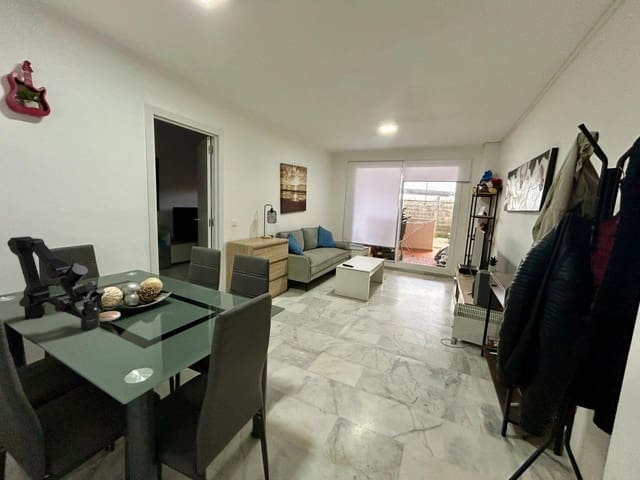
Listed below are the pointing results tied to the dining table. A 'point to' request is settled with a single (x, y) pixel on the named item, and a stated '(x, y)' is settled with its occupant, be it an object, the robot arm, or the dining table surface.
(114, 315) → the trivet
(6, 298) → the dining table surface
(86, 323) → the supplement bottle
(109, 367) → the dining table surface
